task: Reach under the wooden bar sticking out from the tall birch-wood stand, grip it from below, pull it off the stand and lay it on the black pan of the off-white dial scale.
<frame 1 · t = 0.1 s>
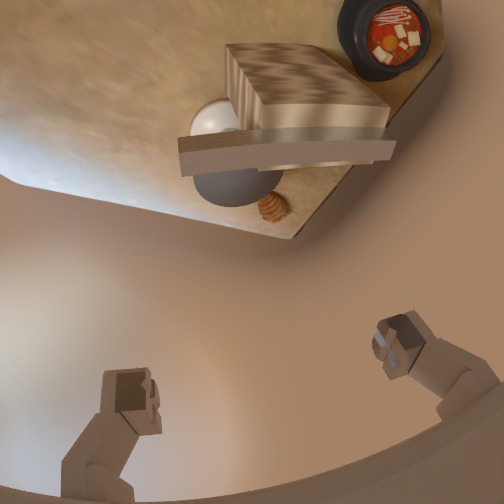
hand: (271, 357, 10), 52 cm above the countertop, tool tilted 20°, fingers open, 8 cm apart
wooden bar: (290, 138, 34), point 26 cm above the countertop, touching wooden stand
pastry: (269, 203, 80), on the countertop
wooden stand: (268, 65, 50), on the countertop
casserole: (374, 25, 45), on the countertop
dial scale: (225, 128, 59), on the countertop
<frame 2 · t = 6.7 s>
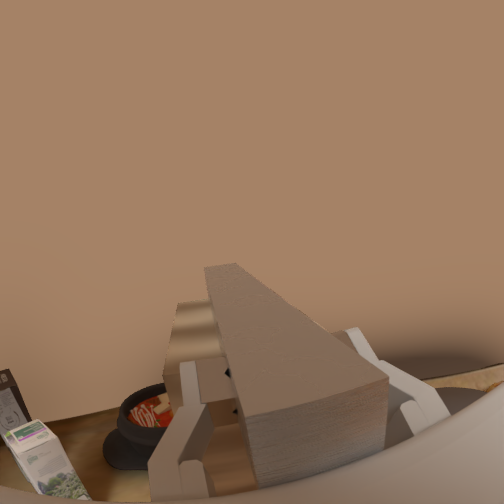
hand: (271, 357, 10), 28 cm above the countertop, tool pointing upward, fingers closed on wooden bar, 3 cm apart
wooden bar: (244, 338, 18), point 26 cm above the countertop, touching gripper, wooden stand
casserole: (178, 444, 43), on the countertop
coffee box: (36, 464, 33), on the countertop
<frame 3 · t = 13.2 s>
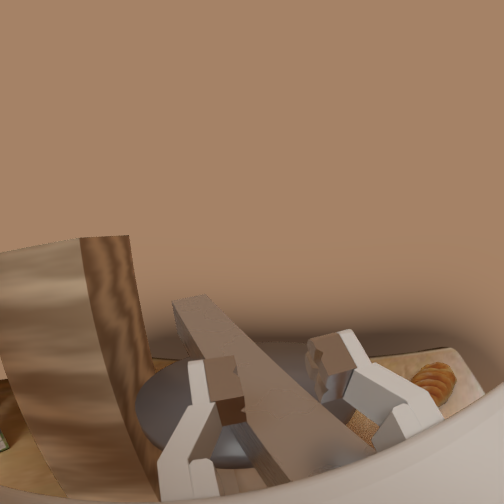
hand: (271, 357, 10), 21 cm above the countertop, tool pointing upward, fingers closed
wooden bar: (249, 411, 16), point 15 cm above the countertop, tilted 7°, touching dial scale, gripper
pastry: (431, 397, 35), on the countertop
wooden stand: (134, 475, 27), on the countertop
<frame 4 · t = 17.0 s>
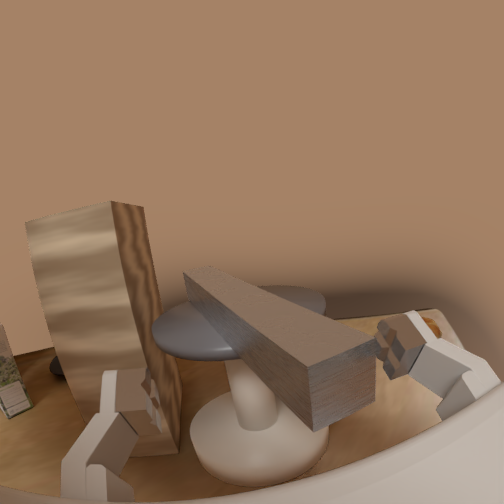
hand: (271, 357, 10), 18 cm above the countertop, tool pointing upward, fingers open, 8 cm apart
wooden bar: (239, 329, 22), point 15 cm above the countertop, touching dial scale, gripper
pastry: (418, 349, 41), on the countertop
wooden stand: (147, 417, 35), on the countertop
syrup box: (17, 408, 35), on the countertop
dial scale: (262, 439, 29), on the countertop
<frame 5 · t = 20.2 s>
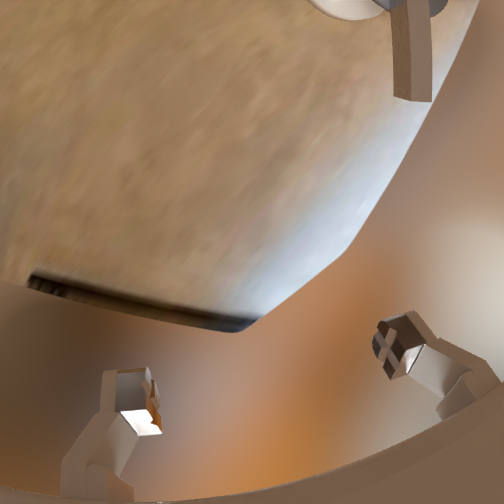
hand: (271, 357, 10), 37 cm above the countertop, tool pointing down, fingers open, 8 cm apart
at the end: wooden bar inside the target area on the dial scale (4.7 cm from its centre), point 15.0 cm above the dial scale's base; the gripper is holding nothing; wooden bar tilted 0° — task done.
